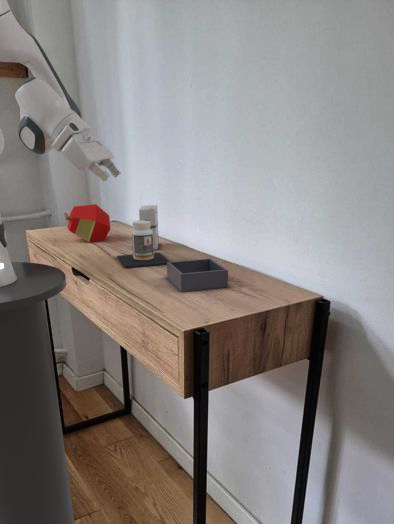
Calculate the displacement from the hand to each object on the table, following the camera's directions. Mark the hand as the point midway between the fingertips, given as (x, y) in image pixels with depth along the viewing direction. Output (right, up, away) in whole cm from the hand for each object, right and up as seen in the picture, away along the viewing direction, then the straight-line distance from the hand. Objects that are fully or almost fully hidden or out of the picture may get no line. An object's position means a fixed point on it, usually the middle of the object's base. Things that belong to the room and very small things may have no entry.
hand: (113, 177), depth 125 cm
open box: (+22, -29, -11) cm, 38 cm away
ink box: (+7, -13, +23) cm, 27 cm away
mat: (+7, -20, +7) cm, 23 cm away
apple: (-13, -9, +32) cm, 35 cm away
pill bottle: (+7, -20, +7) cm, 22 cm away
